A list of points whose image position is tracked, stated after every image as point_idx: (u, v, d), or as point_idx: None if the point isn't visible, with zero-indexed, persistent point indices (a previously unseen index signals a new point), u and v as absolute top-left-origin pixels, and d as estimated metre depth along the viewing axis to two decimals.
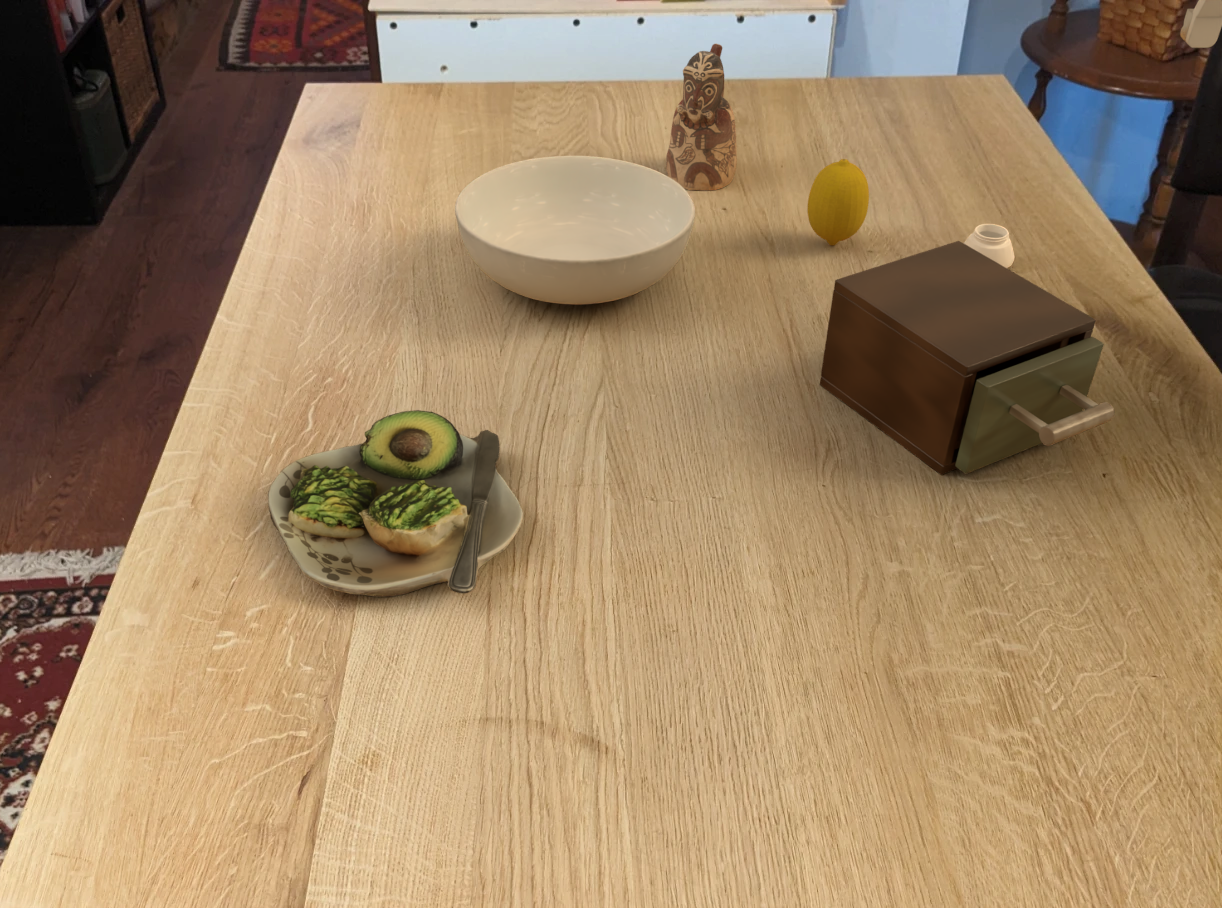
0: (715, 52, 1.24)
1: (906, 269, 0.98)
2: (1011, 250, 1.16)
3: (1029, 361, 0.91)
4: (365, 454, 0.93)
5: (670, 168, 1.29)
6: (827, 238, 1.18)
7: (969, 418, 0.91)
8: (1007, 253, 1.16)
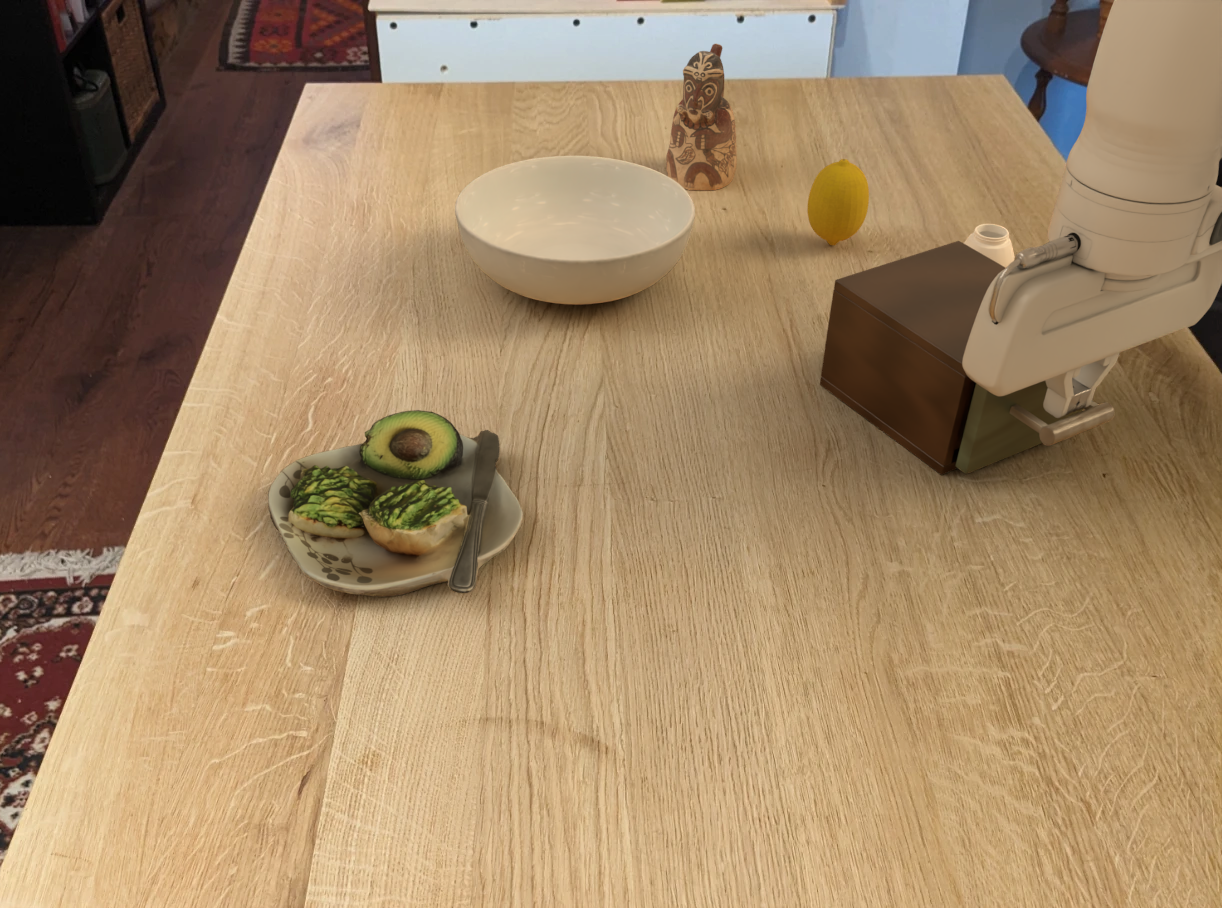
0: (715, 52, 1.24)
1: (906, 269, 0.98)
2: (1011, 250, 1.16)
3: None
4: (365, 454, 0.93)
5: (670, 168, 1.29)
6: (827, 238, 1.18)
7: (969, 418, 0.91)
8: (1007, 253, 1.16)
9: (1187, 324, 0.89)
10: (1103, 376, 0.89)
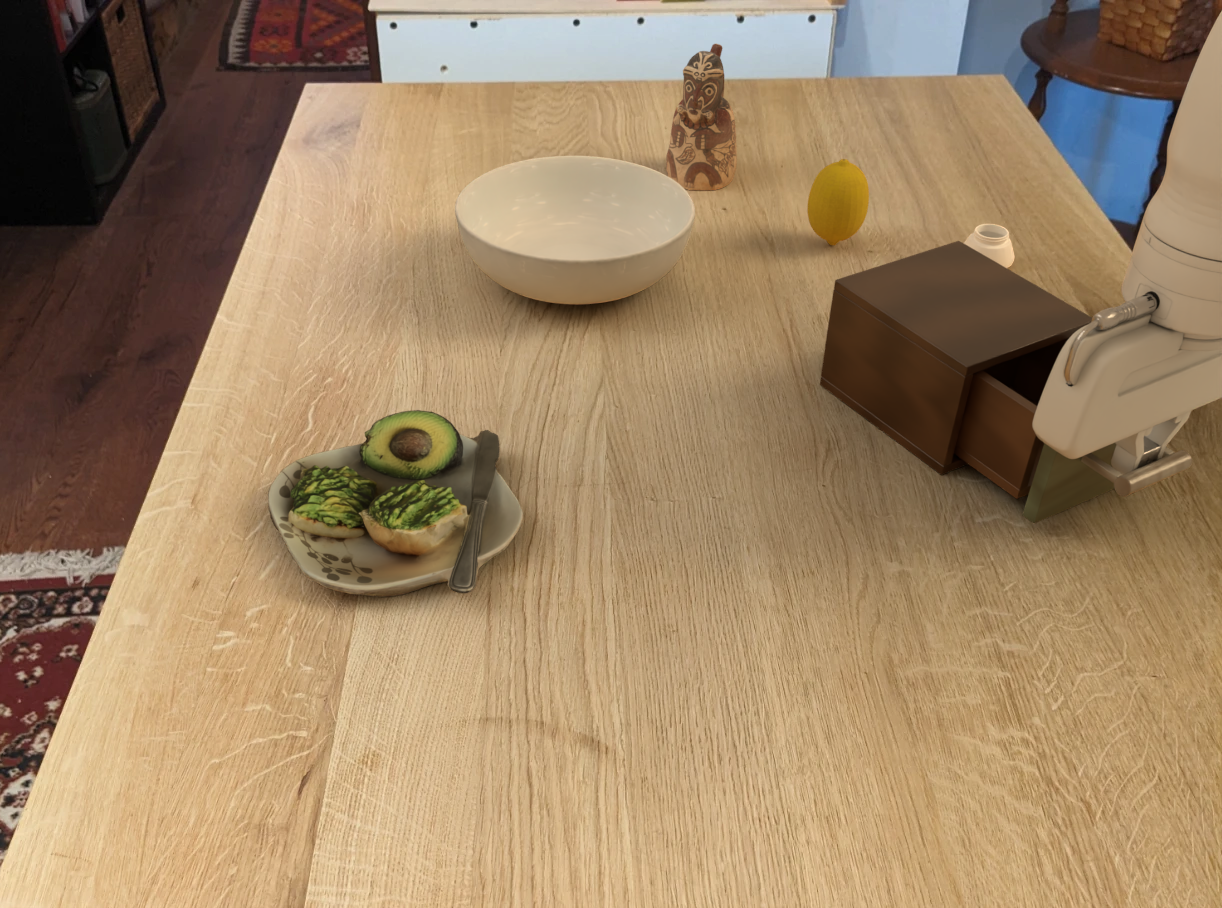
0: (715, 52, 1.24)
1: (906, 269, 0.98)
2: (1011, 250, 1.16)
3: None
4: (365, 454, 0.93)
5: (670, 168, 1.29)
6: (827, 238, 1.18)
7: (1039, 467, 0.87)
8: (1007, 253, 1.16)
9: None
10: (1174, 433, 0.85)
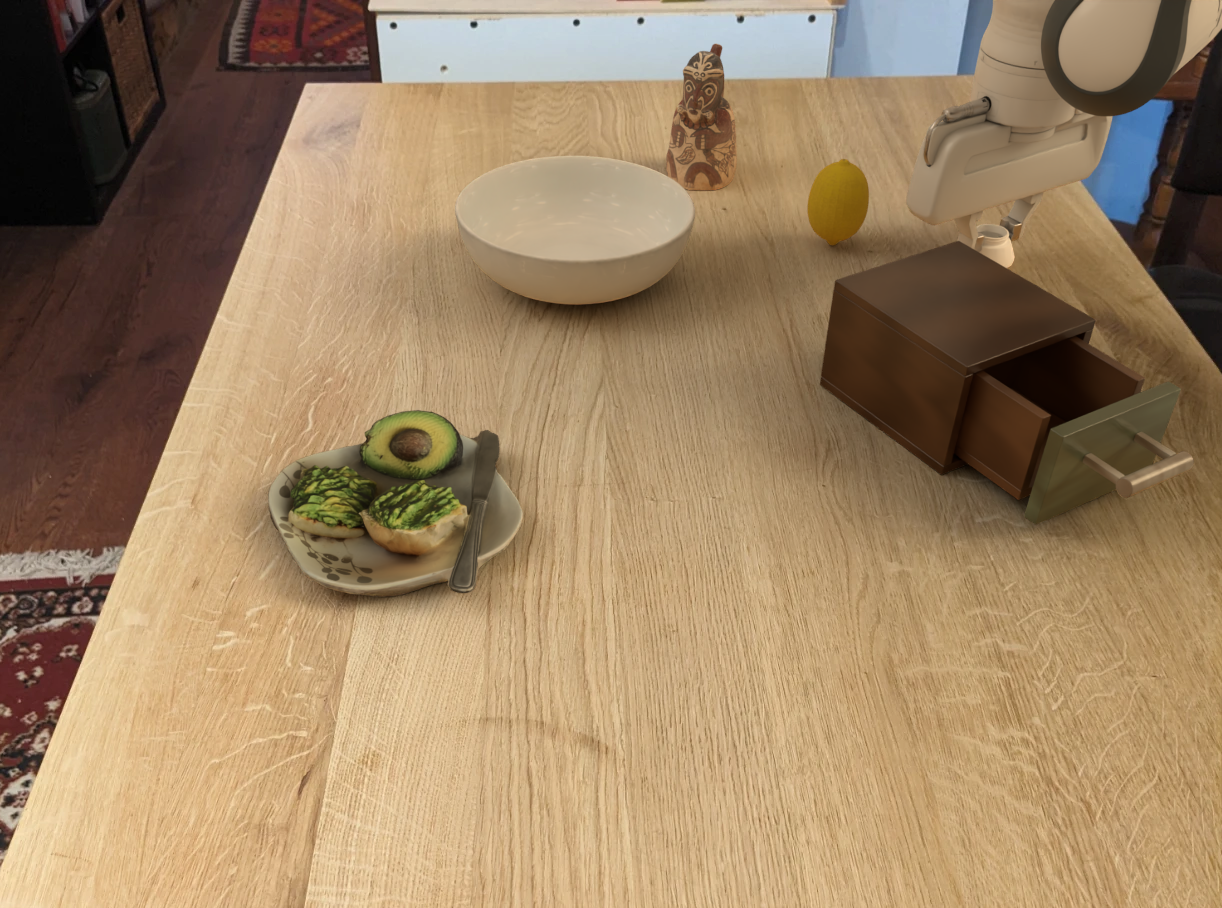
0: (715, 52, 1.24)
1: (906, 269, 0.98)
2: (1011, 250, 1.16)
3: (1104, 408, 0.87)
4: (365, 454, 0.93)
5: (670, 168, 1.29)
6: (827, 238, 1.18)
7: (1041, 468, 0.87)
8: (1007, 253, 1.16)
9: (1081, 177, 1.15)
10: (1031, 213, 1.16)
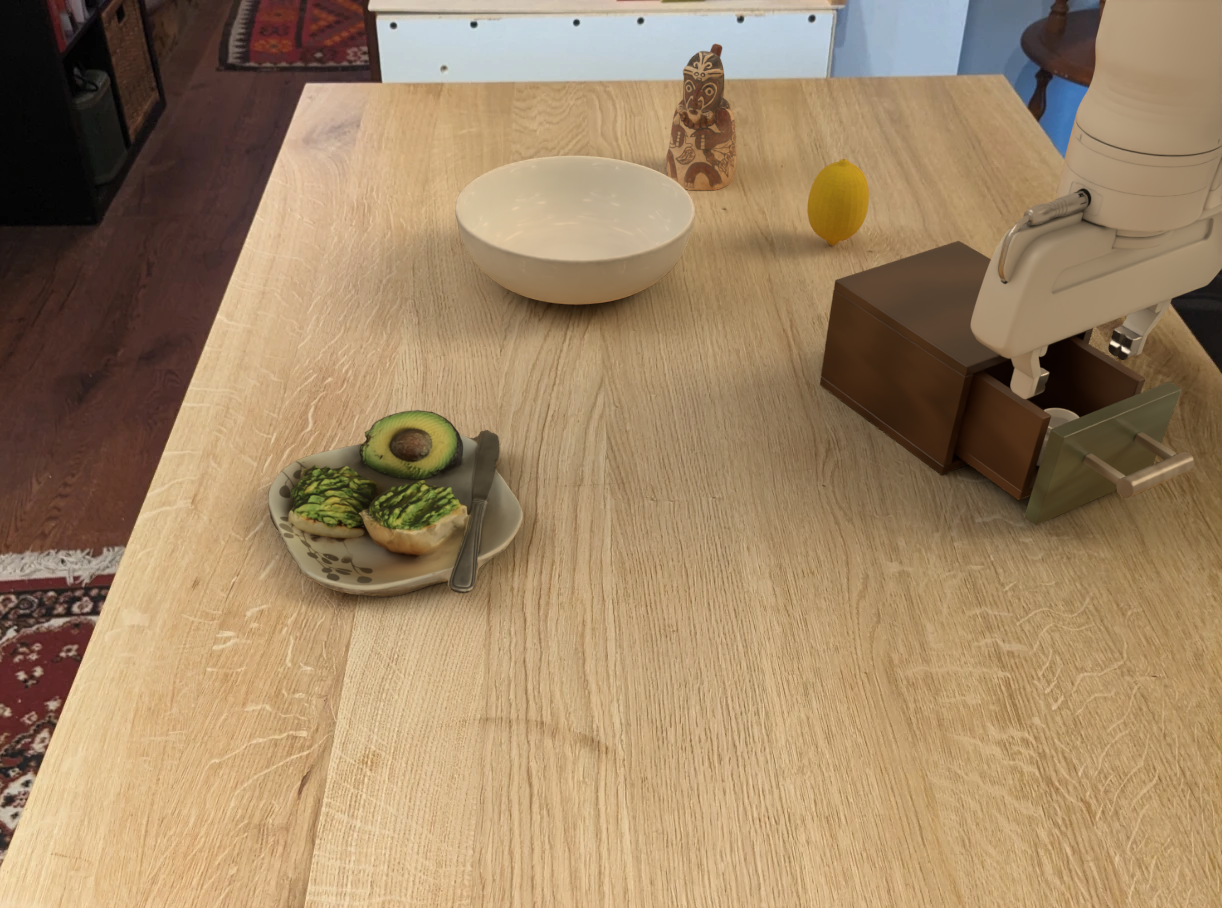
0: (715, 52, 1.24)
1: (906, 269, 0.98)
2: None
3: (1105, 409, 0.87)
4: (365, 454, 0.93)
5: (670, 168, 1.29)
6: (827, 238, 1.18)
7: (1042, 468, 0.87)
8: None
9: (1199, 284, 0.87)
10: (1155, 323, 0.88)
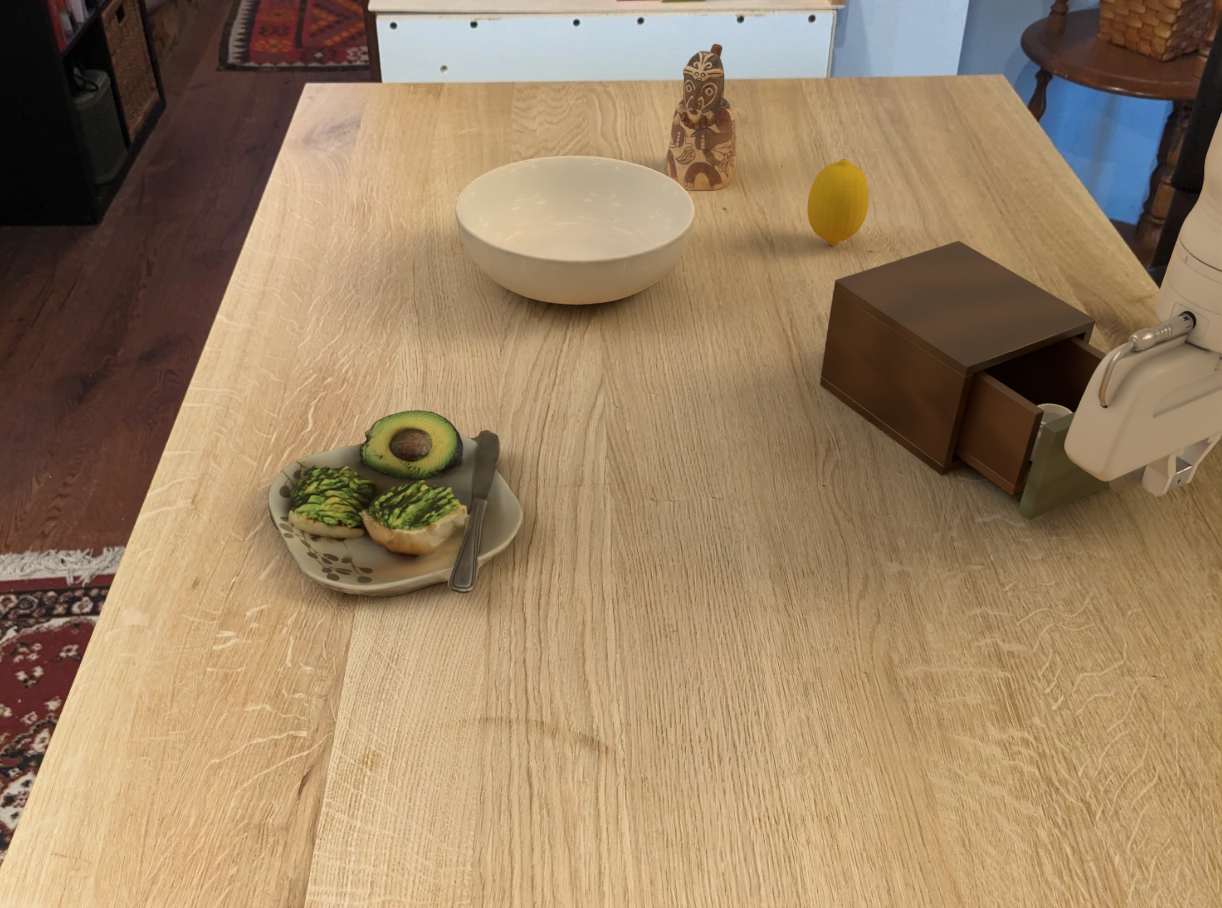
0: (715, 52, 1.24)
1: (906, 269, 0.98)
2: None
3: None
4: (365, 454, 0.93)
5: (670, 168, 1.29)
6: (827, 238, 1.18)
7: (1035, 463, 0.87)
8: None
9: None
10: (1206, 452, 0.84)
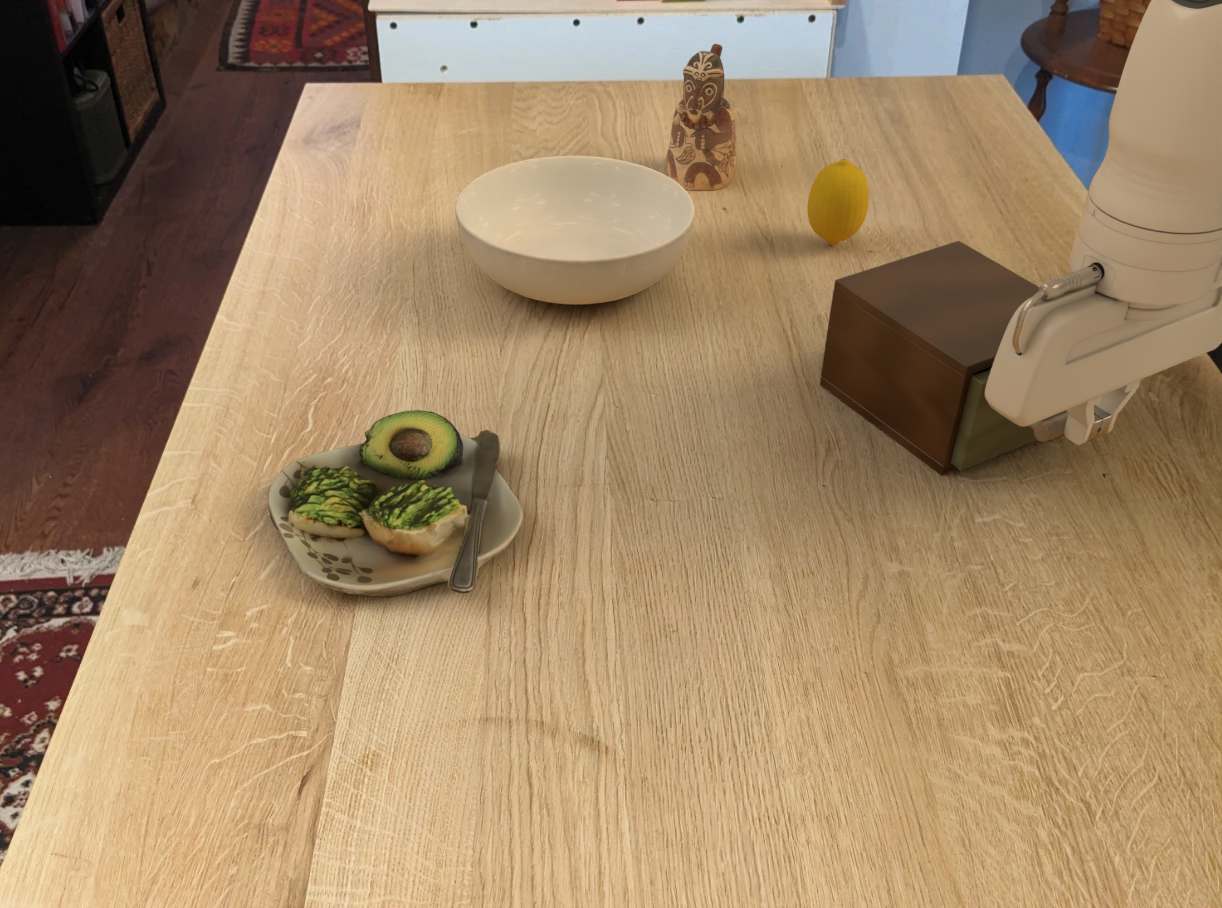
0: (715, 52, 1.24)
1: (906, 269, 0.98)
2: None
3: None
4: (365, 454, 0.93)
5: (670, 168, 1.29)
6: (827, 238, 1.18)
7: (964, 415, 0.91)
8: None
9: (1208, 349, 0.88)
10: (1124, 402, 0.88)
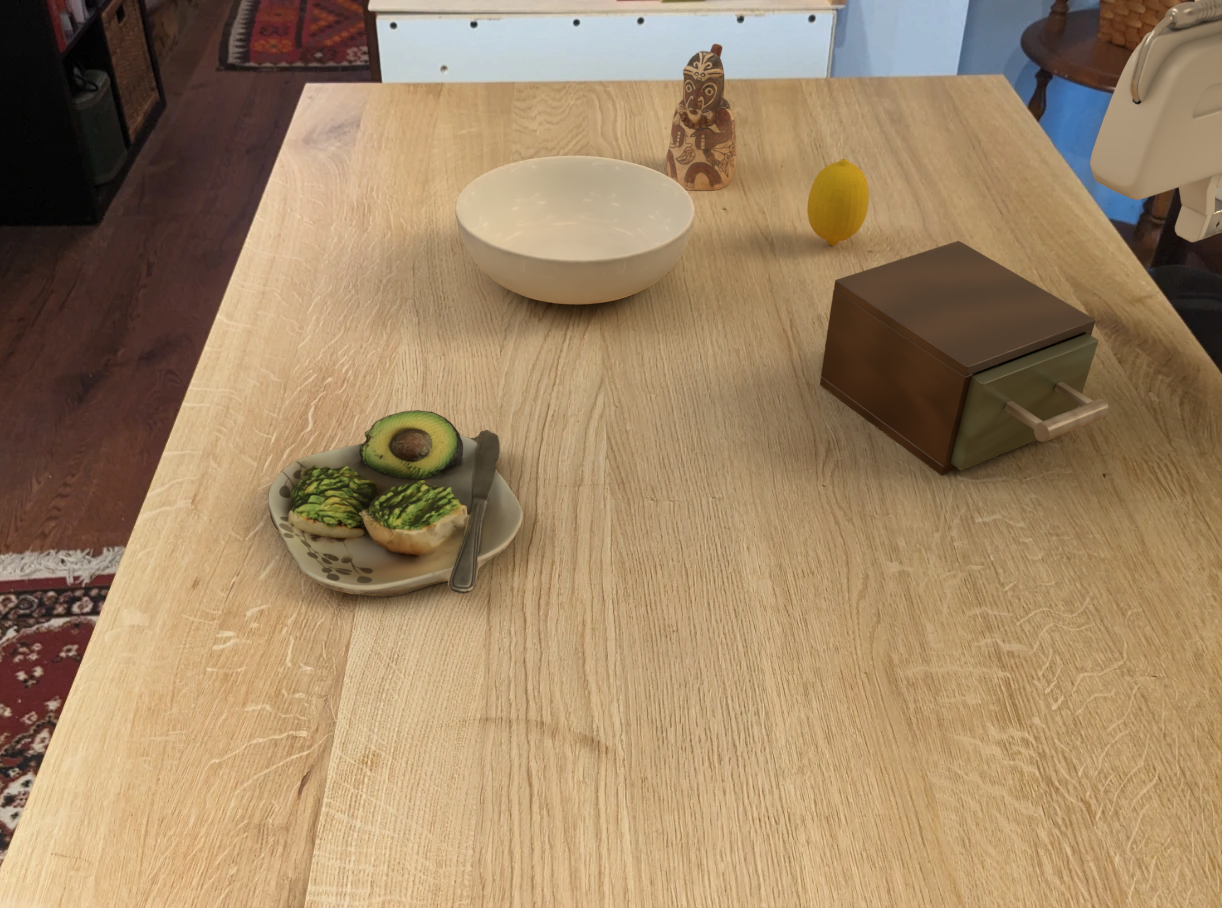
0: (715, 52, 1.24)
1: (906, 269, 0.98)
2: None
3: (1024, 358, 0.91)
4: (365, 454, 0.93)
5: (670, 168, 1.29)
6: (827, 238, 1.18)
7: (964, 415, 0.91)
8: None
9: None
10: None
